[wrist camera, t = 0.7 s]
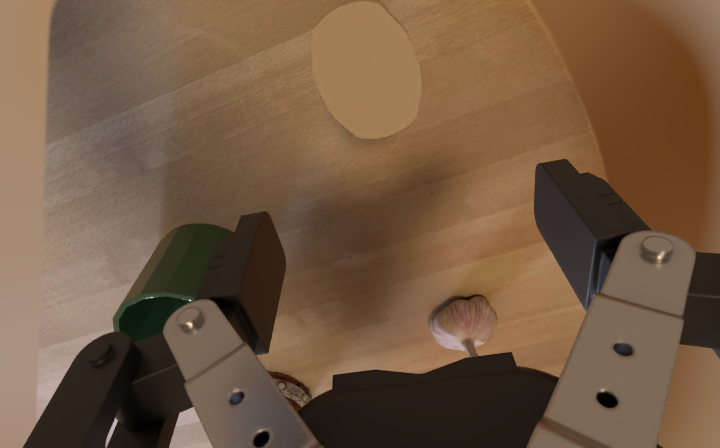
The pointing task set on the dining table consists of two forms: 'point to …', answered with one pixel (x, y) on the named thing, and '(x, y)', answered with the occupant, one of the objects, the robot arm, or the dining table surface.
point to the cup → (168, 279)
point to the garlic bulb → (464, 324)
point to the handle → (366, 69)
